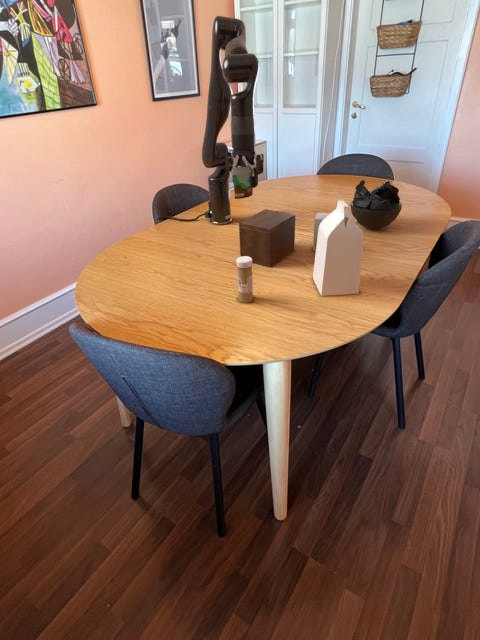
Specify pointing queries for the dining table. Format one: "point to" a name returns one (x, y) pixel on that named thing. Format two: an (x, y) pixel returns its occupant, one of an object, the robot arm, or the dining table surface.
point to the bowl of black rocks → (376, 205)
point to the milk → (338, 253)
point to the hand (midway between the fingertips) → (245, 185)
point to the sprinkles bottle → (245, 279)
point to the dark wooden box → (267, 236)
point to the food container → (242, 181)
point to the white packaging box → (317, 221)
